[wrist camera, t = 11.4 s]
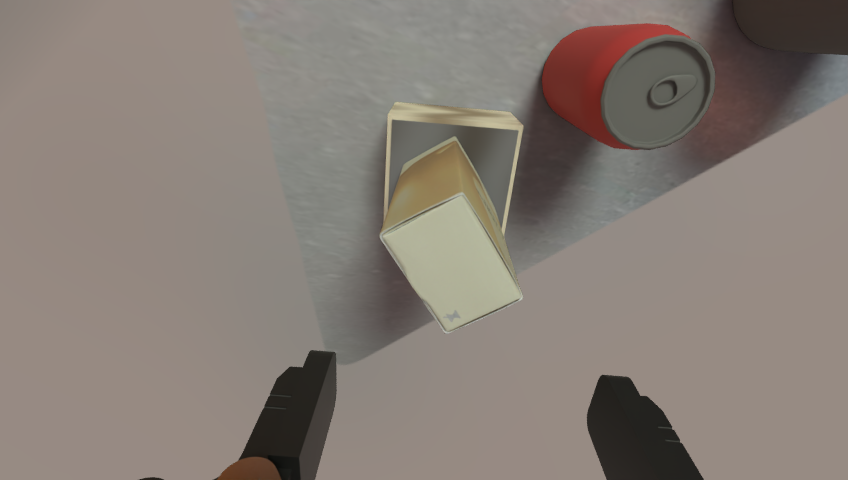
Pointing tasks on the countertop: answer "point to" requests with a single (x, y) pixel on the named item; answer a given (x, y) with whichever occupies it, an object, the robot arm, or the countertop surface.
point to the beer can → (630, 84)
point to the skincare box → (449, 238)
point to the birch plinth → (476, 132)
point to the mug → (795, 24)
